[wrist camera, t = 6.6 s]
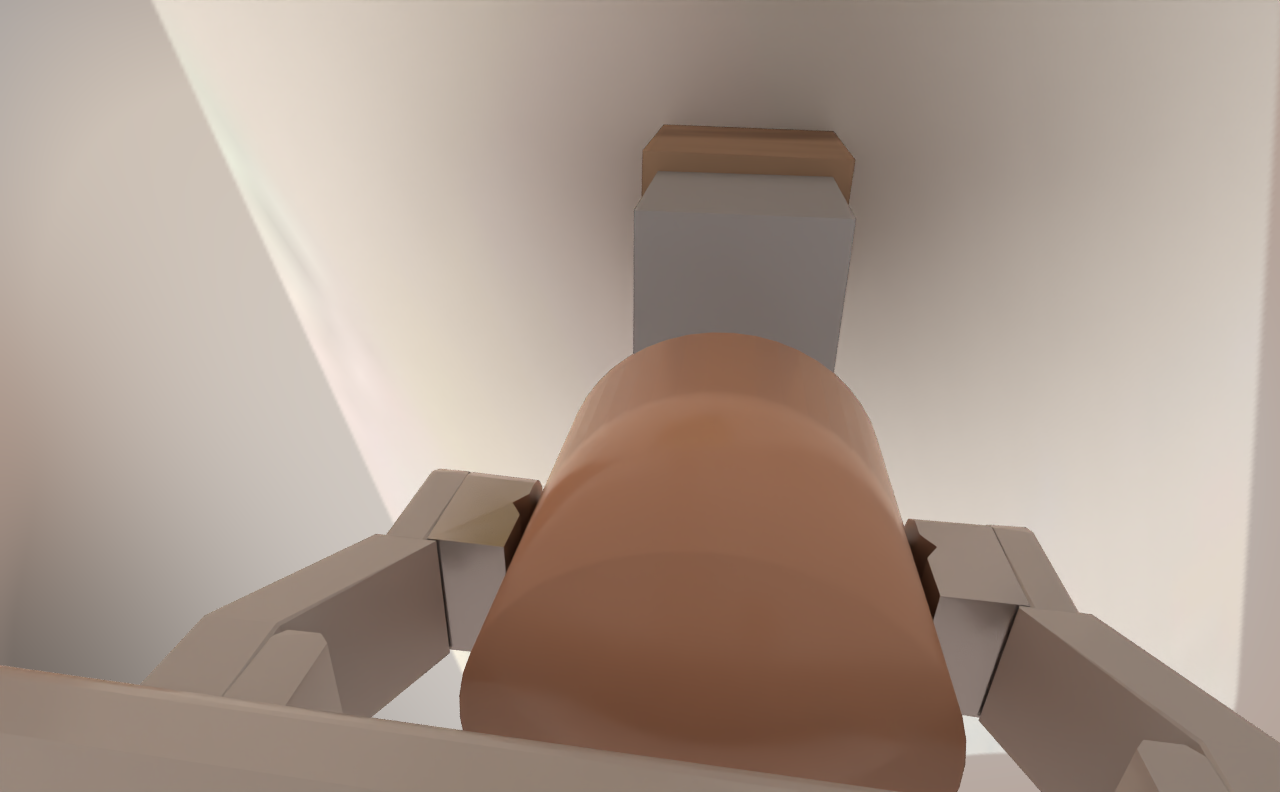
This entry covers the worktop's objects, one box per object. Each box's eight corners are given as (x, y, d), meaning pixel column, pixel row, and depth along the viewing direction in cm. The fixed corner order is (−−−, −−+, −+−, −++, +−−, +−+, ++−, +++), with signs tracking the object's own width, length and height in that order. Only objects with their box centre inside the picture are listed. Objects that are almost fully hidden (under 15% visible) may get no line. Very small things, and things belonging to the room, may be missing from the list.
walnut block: (664, 124, 26) (642, 150, 21) (833, 131, 26) (855, 160, 20) (658, 283, 29) (638, 342, 24) (811, 293, 28) (825, 355, 23)
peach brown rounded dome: (564, 319, 11) (436, 523, 6) (910, 346, 10) (1029, 587, 6) (569, 579, 13) (477, 860, 9) (852, 612, 13) (908, 929, 8)
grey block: (657, 171, 21) (633, 210, 17) (833, 176, 21) (855, 219, 16) (654, 330, 23) (633, 401, 19) (812, 339, 23) (827, 415, 18)
